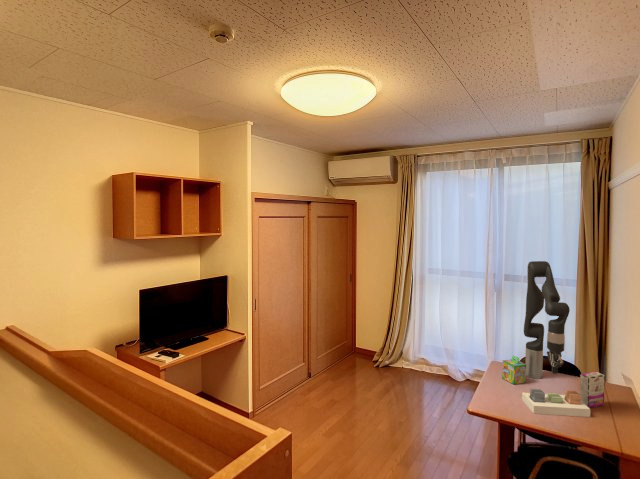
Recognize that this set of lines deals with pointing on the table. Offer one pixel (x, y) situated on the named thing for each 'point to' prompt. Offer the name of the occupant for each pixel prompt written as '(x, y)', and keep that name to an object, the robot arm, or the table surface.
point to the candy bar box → (592, 389)
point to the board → (556, 407)
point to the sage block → (554, 398)
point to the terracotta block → (572, 397)
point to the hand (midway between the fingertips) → (554, 373)
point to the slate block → (537, 395)
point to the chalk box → (514, 371)
